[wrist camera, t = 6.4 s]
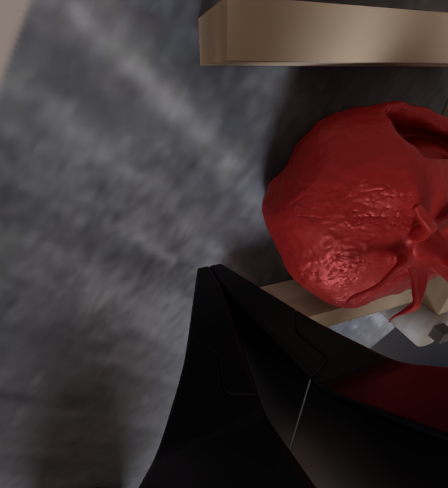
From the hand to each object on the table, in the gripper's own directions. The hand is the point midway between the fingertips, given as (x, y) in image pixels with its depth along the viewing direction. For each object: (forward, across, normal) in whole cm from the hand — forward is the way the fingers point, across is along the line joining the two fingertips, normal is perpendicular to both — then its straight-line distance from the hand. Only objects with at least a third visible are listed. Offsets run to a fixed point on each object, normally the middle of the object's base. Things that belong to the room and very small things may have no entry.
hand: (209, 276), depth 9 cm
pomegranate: (+6, -9, 0) cm, 11 cm away
